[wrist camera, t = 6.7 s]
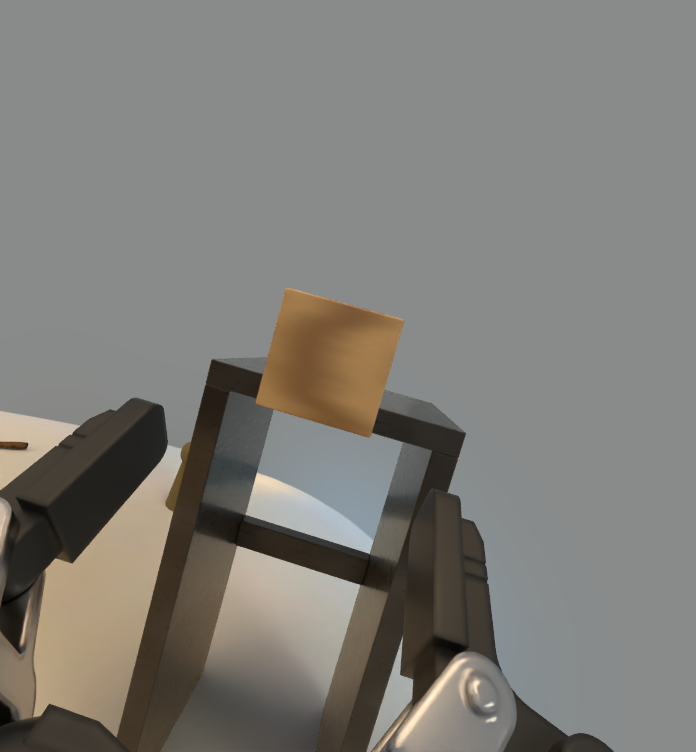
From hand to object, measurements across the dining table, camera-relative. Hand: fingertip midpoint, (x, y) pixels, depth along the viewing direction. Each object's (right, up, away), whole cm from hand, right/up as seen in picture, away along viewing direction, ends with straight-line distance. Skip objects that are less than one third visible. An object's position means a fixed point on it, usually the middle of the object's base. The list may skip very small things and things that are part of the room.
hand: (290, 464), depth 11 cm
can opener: (-60, -10, +53) cm, 81 cm away
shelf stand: (-7, -28, +18) cm, 34 cm away
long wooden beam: (+1, +2, +13) cm, 13 cm away
